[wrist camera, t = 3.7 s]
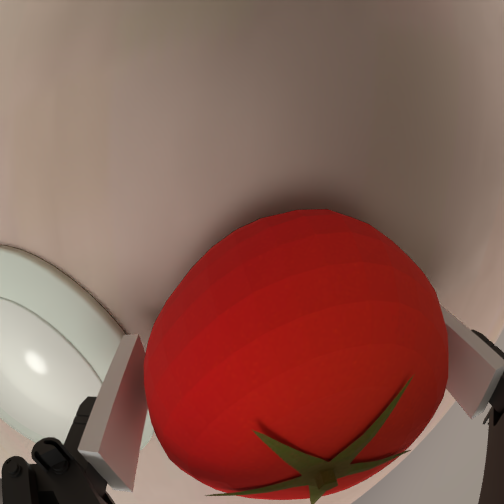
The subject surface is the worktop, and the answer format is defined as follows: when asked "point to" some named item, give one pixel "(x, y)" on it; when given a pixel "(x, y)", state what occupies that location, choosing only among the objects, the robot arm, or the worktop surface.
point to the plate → (50, 347)
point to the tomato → (296, 358)
